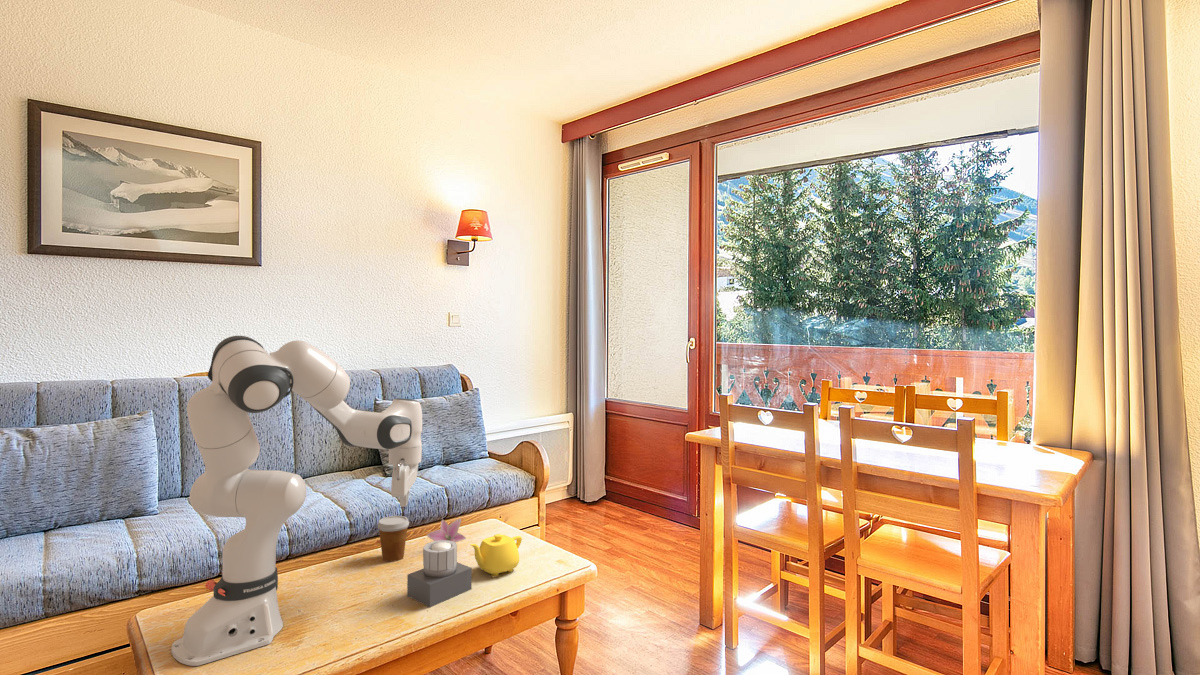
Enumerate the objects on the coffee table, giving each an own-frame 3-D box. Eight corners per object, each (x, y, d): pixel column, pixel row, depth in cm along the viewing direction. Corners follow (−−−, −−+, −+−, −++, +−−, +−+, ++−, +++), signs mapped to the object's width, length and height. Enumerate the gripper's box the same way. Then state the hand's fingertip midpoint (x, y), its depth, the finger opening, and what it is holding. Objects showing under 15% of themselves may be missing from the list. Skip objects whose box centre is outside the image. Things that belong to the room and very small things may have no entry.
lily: (424, 550, 201) (420, 530, 196) (452, 529, 209) (449, 509, 204) (447, 570, 195) (443, 550, 190) (475, 547, 203) (473, 527, 198)
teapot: (479, 585, 174) (479, 548, 174) (460, 572, 182) (460, 537, 182) (531, 568, 186) (531, 534, 186) (511, 557, 194) (511, 524, 194)
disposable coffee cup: (386, 566, 186) (386, 527, 185) (371, 557, 192) (371, 520, 192) (414, 557, 193) (415, 520, 192) (399, 549, 199) (399, 513, 199)
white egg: (437, 568, 165) (438, 550, 165) (427, 563, 169) (428, 545, 169) (454, 563, 169) (454, 545, 169) (444, 558, 173) (444, 540, 173)
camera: (430, 607, 160) (430, 558, 160) (407, 596, 166) (407, 549, 166) (471, 588, 171) (471, 543, 171) (448, 579, 177) (449, 535, 177)
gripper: (410, 463, 161) (409, 515, 161) (422, 449, 181) (421, 496, 181) (385, 463, 160) (384, 516, 160) (400, 449, 180) (399, 496, 180)
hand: (403, 505), depth 171 cm, fingers closed
